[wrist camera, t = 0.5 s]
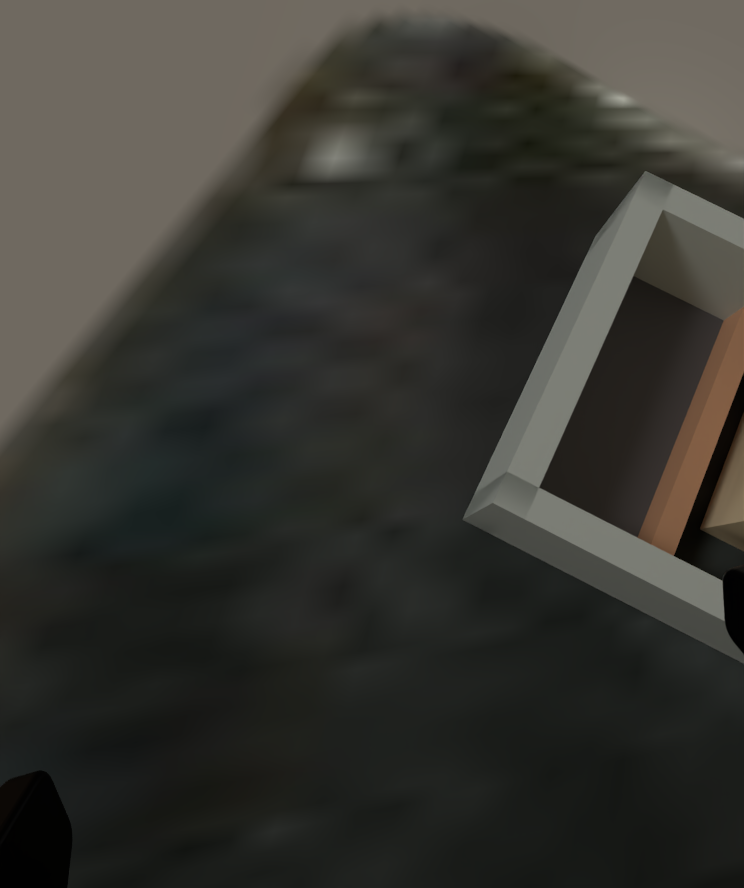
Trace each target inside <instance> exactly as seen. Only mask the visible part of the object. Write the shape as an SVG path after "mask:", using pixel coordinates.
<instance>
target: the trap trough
mask: <svg viewBox="0 0 744 888" xmlns="http://www.w3.org/2000/svg"><path fill="white" fill-rule="evenodd" d="M743 373H744V219H743V218H741V217H739V216H737V215H735V214H733V213H731V212H729V211H727V210H724V209H722V208H720V207H718V206H716V205H714V204H712V203H710V202H708V201H706V200H704V199H702V198H700V197H698V196H696V195H694V194H692V193H690V192H688V191H686V190H683V189H681V188H679V187H677V186H675V185H673V184H671V183H669V182H667V181H665V180H663V179H661V178H659V177H657V176H655V175H653V174H651V173H649V172H647V171H645V172H644V173H643V175H642V176H641V177H640V179H639V180H638V181H637V183H636V184H635V185H634V187H633V188H632V189H631V190H630V192H629V193H628V194H627V196H626V197H625V198H624V200H623V201H622V202H621V204H620V205H619V206H618V207H617V209H616V210H615V211H614V213H613V214H612V215H611V217H610V218H609V219H608V221H607V222H606V223H605V224H604V226H603V227H602V228H601V230H600V231H599V232H598V234H597V235H596V236H595V238H594V240H593V242H592V245H591V247H590V249H589V251H588V253H587V255H586V257H585V259H584V262H583V264H582V266H581V268H580V270H579V272H578V274H577V276H576V279H575V281H574V283H573V285H572V287H571V289H570V291H569V294H568V296H567V298H566V300H565V302H564V304H563V306H562V308H561V311H560V313H559V315H558V317H557V319H556V321H555V323H554V326H553V328H552V330H551V332H550V334H549V336H548V338H547V340H546V343H545V345H544V347H543V349H542V351H541V353H540V355H539V357H538V360H537V362H536V364H535V366H534V368H533V370H532V372H531V375H530V377H529V379H528V381H527V383H526V385H525V387H524V389H523V392H522V394H521V396H520V398H519V400H518V402H517V404H516V407H515V409H514V411H513V413H512V415H511V417H510V419H509V421H508V424H507V426H506V428H505V430H504V432H503V434H502V436H501V438H500V441H499V443H498V445H497V447H496V449H495V451H494V453H493V456H492V458H491V460H490V462H489V464H488V466H487V468H486V470H485V473H484V475H483V477H482V479H481V481H480V483H479V485H478V488H477V490H476V492H475V494H474V496H473V498H472V500H471V502H470V505H469V507H468V509H467V511H466V513H465V515H464V517H463V519H462V520H464V521H466V522H468V523H470V524H472V525H474V526H476V527H478V528H480V529H482V530H484V531H486V532H488V533H490V534H492V535H494V536H496V537H497V538H499V539H501V540H503V541H505V542H507V543H509V544H511V545H513V546H515V547H517V548H519V549H521V550H523V551H525V552H527V553H529V554H531V555H533V556H535V557H537V558H539V559H540V560H542V561H544V562H546V563H548V564H550V565H552V566H554V567H556V568H558V569H560V570H562V571H564V572H566V573H568V574H570V575H572V576H574V577H576V578H578V579H580V580H581V581H583V582H585V583H587V584H589V585H591V586H593V587H595V588H597V589H599V590H601V591H603V592H605V593H607V594H609V595H611V596H613V597H615V598H617V599H619V600H621V601H623V602H624V603H626V604H628V605H630V606H632V607H634V608H636V609H638V610H640V611H642V612H644V613H646V614H648V615H650V616H652V617H654V618H656V619H658V620H660V621H662V622H664V623H666V624H667V625H669V626H671V627H673V628H675V629H677V630H679V631H681V632H683V633H685V634H687V635H689V636H691V637H693V638H695V639H697V640H699V641H701V642H703V643H705V644H707V645H709V646H710V647H712V648H714V649H716V650H718V651H720V652H722V653H724V654H726V655H728V656H730V657H732V658H734V659H736V660H738V661H740V662H742V663H744V654H743V653H742V652H741V651H740V649H739V648H738V647H737V646H736V645H735V643H734V642H733V641H732V639H731V638H730V636H729V634H728V632H727V629H726V626H725V619H724V601H723V584H722V582H723V581H722V580H720V579H718V578H716V577H714V576H712V575H710V574H708V573H706V572H704V571H702V570H700V569H698V568H696V567H694V566H692V565H690V564H688V563H686V562H684V561H682V560H680V559H678V558H677V557H675V556H674V554H675V551H676V549H677V546H678V544H679V541H680V538H681V536H682V533H683V530H684V528H685V525H686V522H687V520H688V517H689V515H690V512H691V509H692V507H693V504H694V501H695V499H696V496H697V494H698V491H699V488H700V486H701V483H702V480H703V478H704V475H705V473H706V470H707V467H708V465H709V462H710V459H711V457H712V454H713V452H714V449H715V446H716V444H717V441H718V438H719V436H720V433H721V431H722V428H723V425H724V423H725V420H726V417H727V415H728V412H729V410H730V407H731V404H732V402H733V399H734V396H735V394H736V391H737V388H738V386H739V383H740V381H741V378H742V375H743Z"/></svg>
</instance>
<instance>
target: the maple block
mask: <svg viewBox="0 0 744 888" xmlns="http://www.w3.org/2000/svg"><path fill="white" fill-rule="evenodd" d="M700 530H702V531H704V532H706V533H708V534H710V535H712V536H714V537H716V538H718V539H720V540H722V541H724V542H726V543H728V544H730V545H732V546H734V547H736V548H738V549H740V550H742V551H744V412H743V415H742V418H741V420H740V423H739V426H738V428H737V431H736V434H735V436H734V439H733V442H732V444H731V447H730V450H729V452H728V455H727V458H726V460H725V463H724V466H723V468H722V471H721V474H720V476H719V479H718V482H717V484H716V487H715V490H714V492H713V495H712V498H711V500H710V503H709V506H708V508H707V511H706V514H705V516H704V519H703V522H702V524H701V527H700Z"/></svg>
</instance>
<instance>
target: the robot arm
mask: <svg viewBox="0 0 744 888" xmlns="http://www.w3.org/2000/svg"><path fill="white" fill-rule="evenodd" d="M722 584H723V601H724V619H725V626H726V629H727V632H728V634H729V636H730V638H731V639H732V641H733V642H734V643H735V645H736V646H737V647H738V648H739V649H740V651H741V652H742V653H743V654H744V565H741V566H737V567H734V568H731V569H728V570H727V571H726V572H725V573H724V575H723V582H722ZM71 850H72V828H71V824H70V820H69V818H68V815H67V813H66V811H65V809H64V806H63V804H62V802H61V799H60V797H59V795H58V792H57V790H56V788H55V785H54V783H53V781H52V779H51V777H50V776H49V774H48V773H47V772H44V771H41V770H39V771H35V772H32V773H29V774H25V775H22V776H18V777H15V778H12V779H10V780H8V781H6V782H5V783H4V784H3V785H2V786H1V787H0V888H67V885H68V876H69V867H70V858H71Z"/></svg>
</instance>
